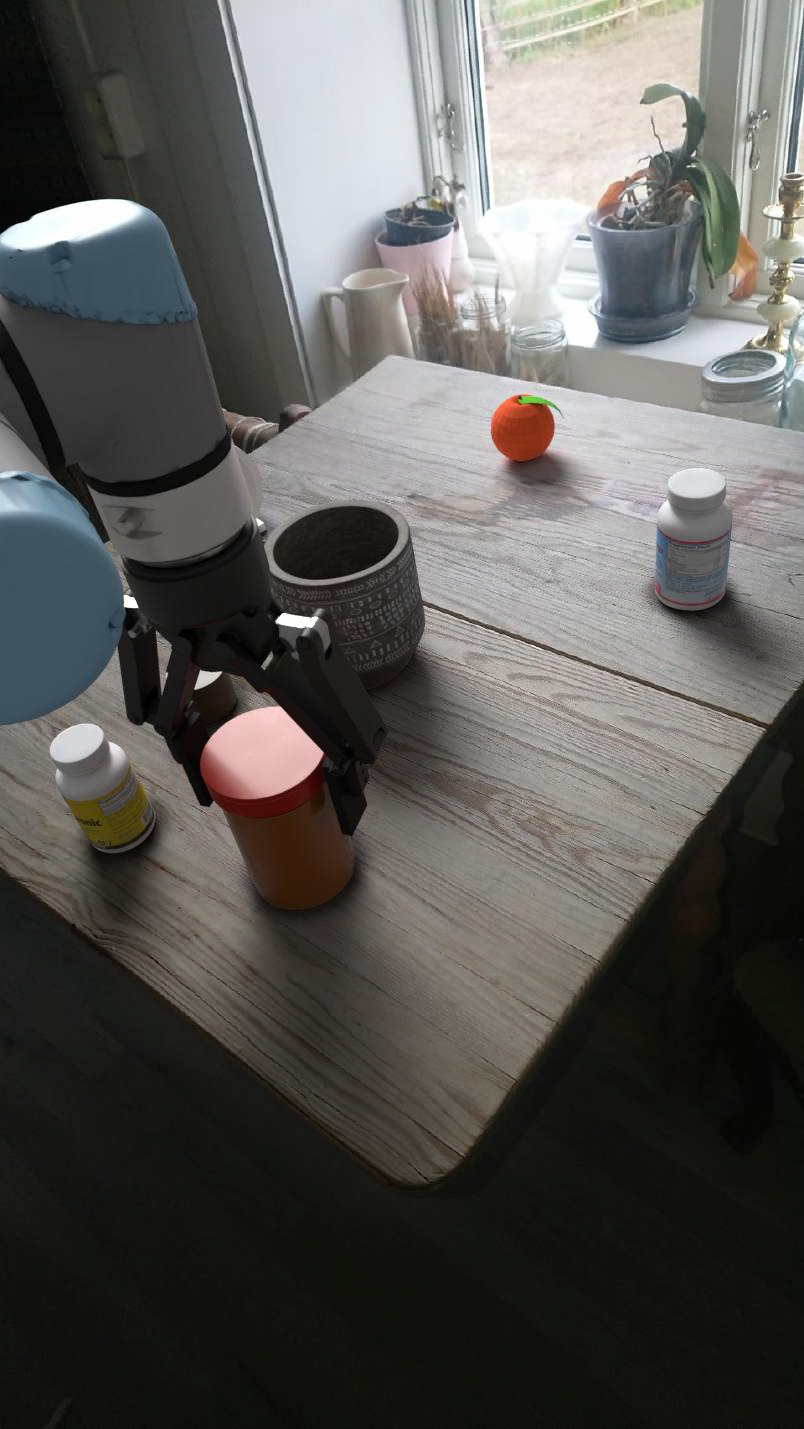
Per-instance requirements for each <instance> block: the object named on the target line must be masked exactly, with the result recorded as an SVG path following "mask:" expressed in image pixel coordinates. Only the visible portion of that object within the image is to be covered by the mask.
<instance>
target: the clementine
mask: <svg viewBox="0 0 804 1429" xmlns="http://www.w3.org/2000/svg"><path fill="white" fill-rule="evenodd" d="M549 407H552V408H554V409H555V410H556V411H558V412H559V414H560V415H561V417H562V418H563V419H565V417H564V416H563V413H562V411H561V409H560V408H559V407H558V406H557V405H556V404H555V403H553V402H552V401H550V400H548V399H546V398H543V397H540V396H535V395H532V394H525V393H521V394H515V395H512V396H510V397H508V398H507V399H506V400H504V401H503V402H501V403H500V404H499V406H498V407H497V408H496V409H495V411H494V413H493V416H492V418H491V421H490V436H491V440H492V443H493V444H494V446H495V448H496V450H497V451H498V452H500V453H501V454H502V455H503V456H504V457H506V458H508V459H510V460H513V461H517V462H527V461H531V460H535V459H536V458H537V457H539V456H541V455H542V454H543V453H545V452H546V451H547V449H548V448H549V447H550V446H551V443H552V441H553V438H554V436H555V430H556V429H555V428H556V423H555V418H554V415H553V413H552V411H551V409H550V408H549Z"/></svg>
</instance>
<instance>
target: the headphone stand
mask: <svg viewBox="0 0 804 1429" xmlns="http://www.w3.org/2000/svg"><path fill="white" fill-rule="evenodd" d="M234 446H235V449H236V453H237V456H238V459H239V462H240V466H241V469H242V472H243V475H244V479H245V482H246V485H247V488H248V492H249V495H250V498H251V504H252V509H251V513H252V514H253V515H254V517H255V519H256V521H257V524H258V528H259V531H260V534H261V533H263V532H264V531H266V530H267V528H266V524H265V522H264V521H262V520H261V519H259V518H258V516H259V514H260V510H261V507H262V503H263V494H264V489H263V481H262V476H261V472H260V471H259V469H258V466H257V465H256V463H255V461H254V460H253V459H252V458H251V457H250V455H248V454H247V452H246V451H244V450H243V449H241V448H239V447H238V446H236V445H235V444H234Z"/></svg>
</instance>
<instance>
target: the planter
mask: <svg viewBox="0 0 804 1429" xmlns="http://www.w3.org/2000/svg"><path fill="white" fill-rule="evenodd" d="M410 528H411V527H410V525H409V522H408V520H407V519H406V517H405V516H404V515H403V514H402V513H401V512H400V511H398V510H397V508H394V507H392V506H391V505H388V504H385V503H382V502H378V501H374V500H366V499H343V500H342V499H341V500H335V501H334V500H333V501H328V502H324V503H319V504H316V505H312V506H310V507H308V508H305V509H302V510H301V511H299V512H297V513H295V514H294V515H292V516H290V517H289V518H287V519H286V520H284V521H283V522H281V523H280V524H279V525H277V527H276V528H274V530H272V532H271V533H270V534H269V535H268V537H267V539H266V540H265V542H264V543H263V545H264V548H265V552H266V555H267V559H268V562H269V566H270V581H271V592H272V595H273V596H274V598H275V600H276V601H277V602H278V604H279V605H280V606H281V607H282V608H283V610H284V611H285V614H289V615H295V616H301V617H307V618H310V617H311V616H312V614H313V613H314V611H315V610H316V609H321V608H322V609H325V610H327V611H328V612H330V614H331V615H332V617H333V619H334V625H335V630H336V636H337V641H338V643H339V645H340V646H341V648H342V650H343V652H344V653H345V655H346V657H347V659H348V660H349V662H350V664H351V665H352V667H353V669H354V671H355V672H356V674H357V676H358V677H359V679H360V681H361V683H362V684H363V686H364V688H365V689H366V691H368V690H372V689H376V688H379V687H381V686H383V685H386V684H388V683H389V682H391V681H394V679H395V678H397V677H398V676H399V675H400V674H401V673H402V672H403V671H404V669H405V668H406V666H407V665H408V663H409V661H410V660H411V659H412V657H413V655H414V653H415V652H416V650H417V648H418V646H419V644H420V642H421V640H422V638H423V635H424V632H425V628H426V615H425V608H424V602H423V595H422V592H421V587H420V581H419V573H418V568H417V567H418V566H417V561H416V556H415V550H414V544H413V543H414V542H413V539H412V538H413V537H412V533H411V529H410ZM298 661H299V662H300V660H298Z"/></svg>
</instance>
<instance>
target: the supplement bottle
mask: <svg viewBox="0 0 804 1429" xmlns="http://www.w3.org/2000/svg"><path fill="white" fill-rule="evenodd" d="M49 756H50V758H51V760H52V761H53V764H54V766H55V767H56V771H55V778H54V780H55V785H56V787H57V789H58V792H59V793H60V795H61V796H62V798H63V800H64V802H65V803H66V804H67V807H68V808H69V809H70V812H71V813H72V815H73V816H74V817H75V820H76V821H77V823H78V825H79V826H80V828H81V830H82V832H83V833H84V835H85V836H86V838H87V839H88V842H90V844H91V845H92V846H93V847H94V848H95V849H96V850H97V851H100V852H102V853H106V854H119V853H124V852H126V851H130V850H132V849H134V848H135V847H137V846H139V845H140V844H142V843H143V842H144V841H145V840H146V839H147V838H148V837H149V836H150V835H151V833H152V831H153V829H154V827H155V824H156V820H157V819H156V812H155V809H154V806H153V804H152V802H151V800H150V798H149V796H148V795H147V793H146V790H145V789H144V787H143V785H142V782H141V781H140V779H139V777H138V775H137V773H136V771H135V768H134V767H133V765H132V763H131V760H130V758H129V757H128V755H127V754H126V752H125V751H124V749H123V748H122V747H121V746H120V745H118V744H116V743H114V742H112V741H109V740H108V738H107V736H106V734H105V732H104V730H103V729H102V728H101V727H99V726H98V725H96V724H93V723H79V724H75V725H72V726H70V727H68V728H66V729H64V730H62V731H60V733H58V734H57V735H56V736H55V737H54V739H53V740H52V742H51V743H50V747H49Z"/></svg>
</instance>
